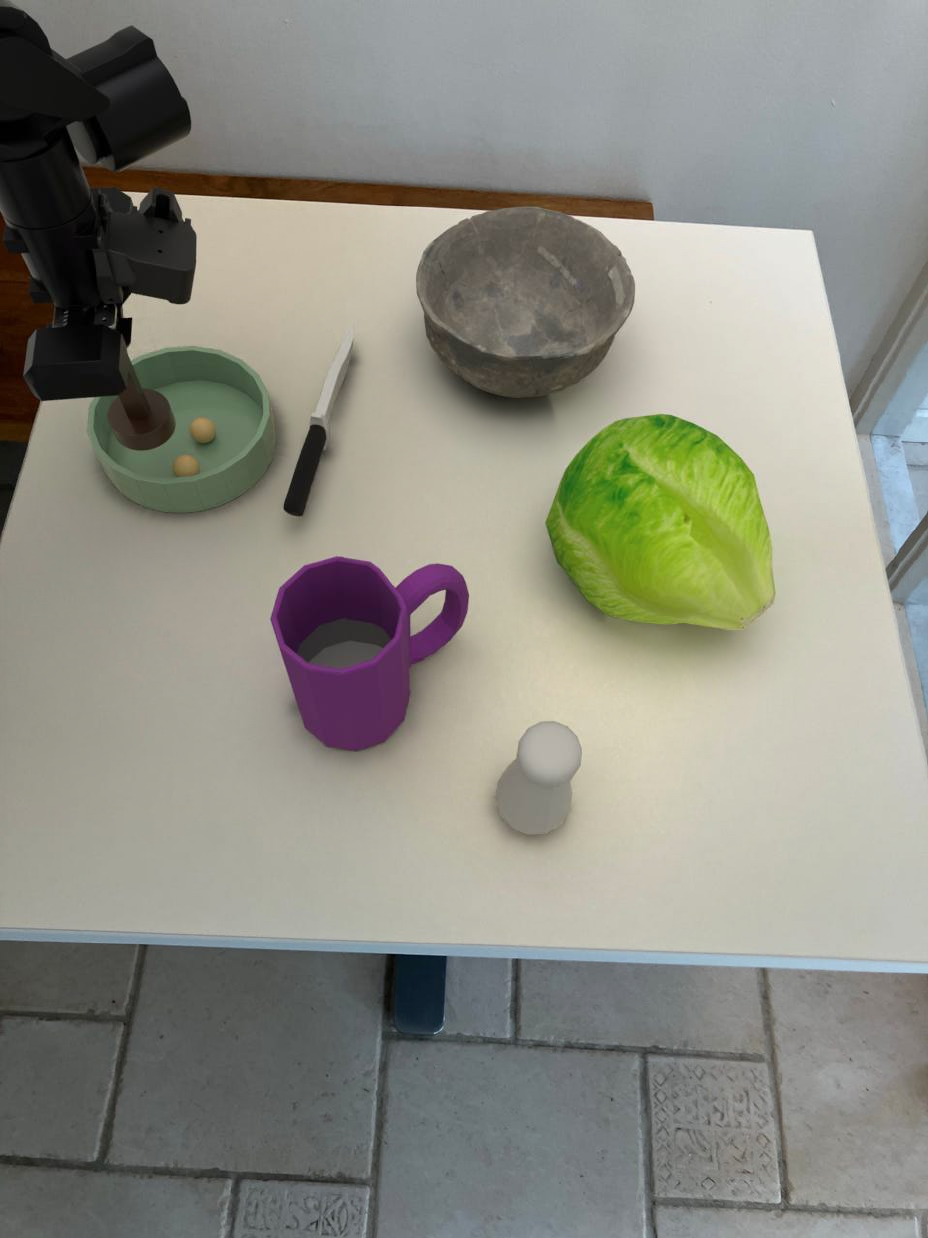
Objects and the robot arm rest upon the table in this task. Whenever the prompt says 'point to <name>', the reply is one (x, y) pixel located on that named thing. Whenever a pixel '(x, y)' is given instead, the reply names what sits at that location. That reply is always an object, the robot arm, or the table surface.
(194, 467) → the bean
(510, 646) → the table surface
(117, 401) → the lever handle
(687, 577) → the lettuce
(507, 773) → the salt shaker
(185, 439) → the mixing bowl
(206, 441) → the bean
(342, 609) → the mug
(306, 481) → the knife
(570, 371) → the bowl
